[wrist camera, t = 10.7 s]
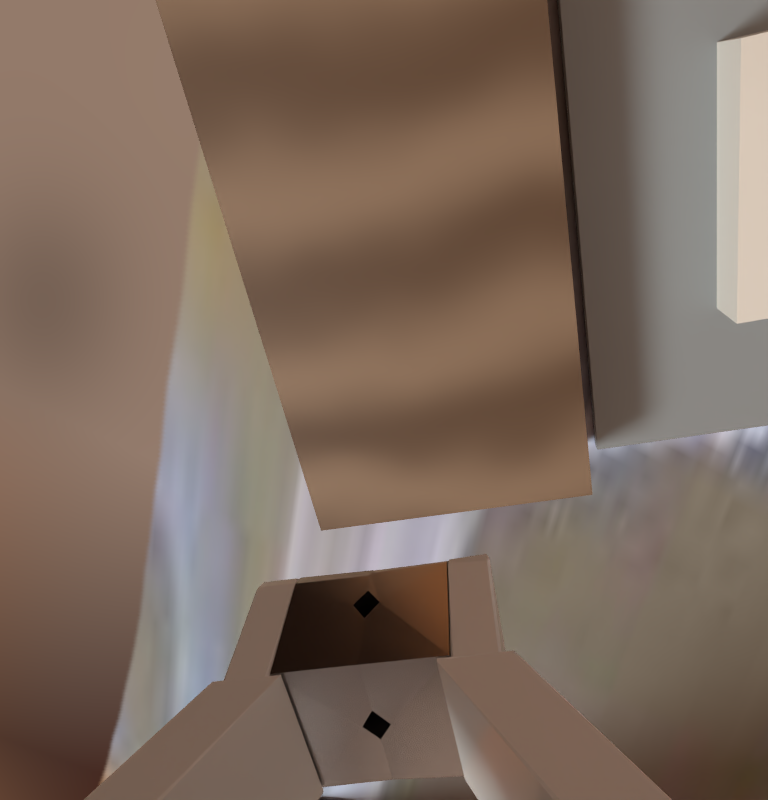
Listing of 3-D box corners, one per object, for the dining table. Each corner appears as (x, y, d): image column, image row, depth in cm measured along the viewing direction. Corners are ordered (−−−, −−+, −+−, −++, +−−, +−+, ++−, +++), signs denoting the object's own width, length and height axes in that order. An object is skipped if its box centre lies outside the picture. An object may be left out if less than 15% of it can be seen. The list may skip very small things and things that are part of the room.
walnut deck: (573, 447, 31) (592, 494, 27) (333, 482, 33) (321, 530, 29) (517, -109, 22) (533, -148, 18) (188, -17, 24) (144, -36, 20)
